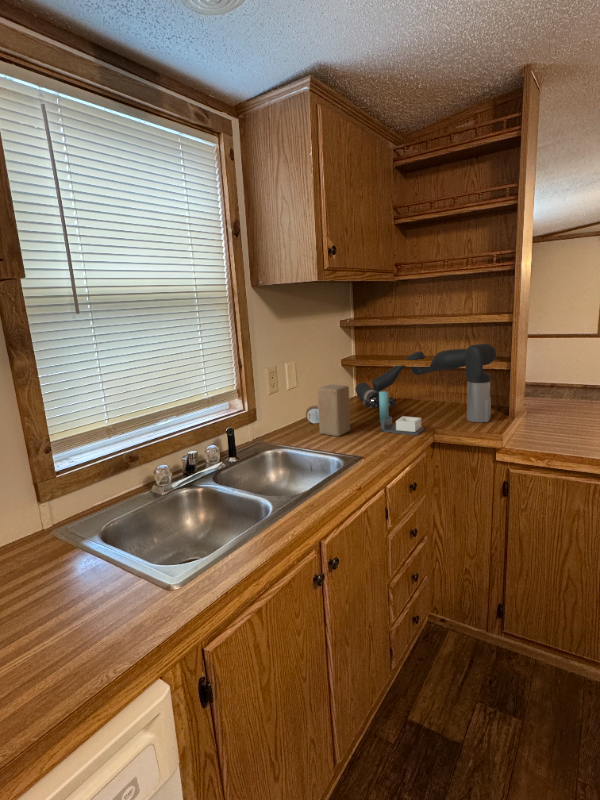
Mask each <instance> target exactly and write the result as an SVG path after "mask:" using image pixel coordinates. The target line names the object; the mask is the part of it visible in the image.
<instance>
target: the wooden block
mask: <svg viewBox="0 0 600 800" xmlns="http://www.w3.org/2000/svg"><path fill="white" fill-rule="evenodd" d="M317 403H318V404H317V406H318V408H319V424H318V425H319V426H318V427H319V433H320V434H321V435H325V434H326V436H332V437H333V436H334V437H340V436H343V435H345V434H347V433H348V432H350V431H351V413H350V411H351V410H350V388H349V386H348V385H344V384H343V385H342V384H328V385H324V386H321V387H318V388H317Z"/></svg>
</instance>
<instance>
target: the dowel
mask: <svg viewBox="0 0 600 800" xmlns="http://www.w3.org/2000/svg"><path fill="white" fill-rule="evenodd" d="M388 399H389V391H387V390H382V391H380V392H379V407H378V408H379V423H380V424H381V421H382V420H384V419H385V418H387V417H390V416H389V415H390V414H389V413H390V412H389V410H390V409H389V405H388Z"/></svg>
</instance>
